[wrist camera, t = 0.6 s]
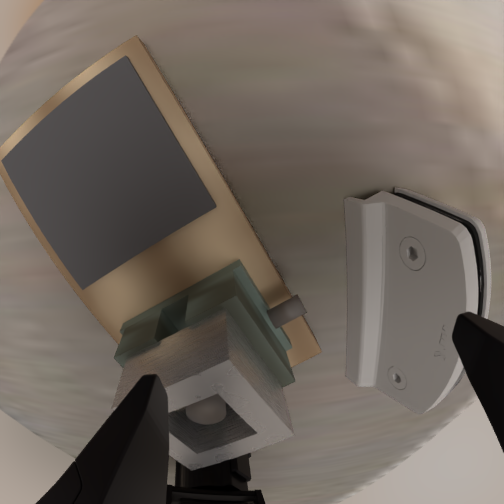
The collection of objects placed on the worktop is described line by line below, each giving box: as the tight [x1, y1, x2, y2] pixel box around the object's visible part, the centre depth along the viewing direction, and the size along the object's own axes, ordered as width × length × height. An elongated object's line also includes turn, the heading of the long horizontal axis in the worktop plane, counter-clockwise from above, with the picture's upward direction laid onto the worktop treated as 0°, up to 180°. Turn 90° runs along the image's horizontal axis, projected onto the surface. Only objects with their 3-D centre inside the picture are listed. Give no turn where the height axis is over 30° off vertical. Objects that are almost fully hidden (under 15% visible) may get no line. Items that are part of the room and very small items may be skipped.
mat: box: [1, 55, 216, 290], centre depth 16 cm, size 10×10×1 cm
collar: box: [112, 308, 295, 471], centre depth 15 cm, size 6×6×4 cm
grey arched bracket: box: [344, 187, 491, 414], centre depth 20 cm, size 17×5×10 cm, turn 8°
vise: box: [0, 35, 322, 425], centre depth 16 cm, size 12×24×9 cm, turn 29°
